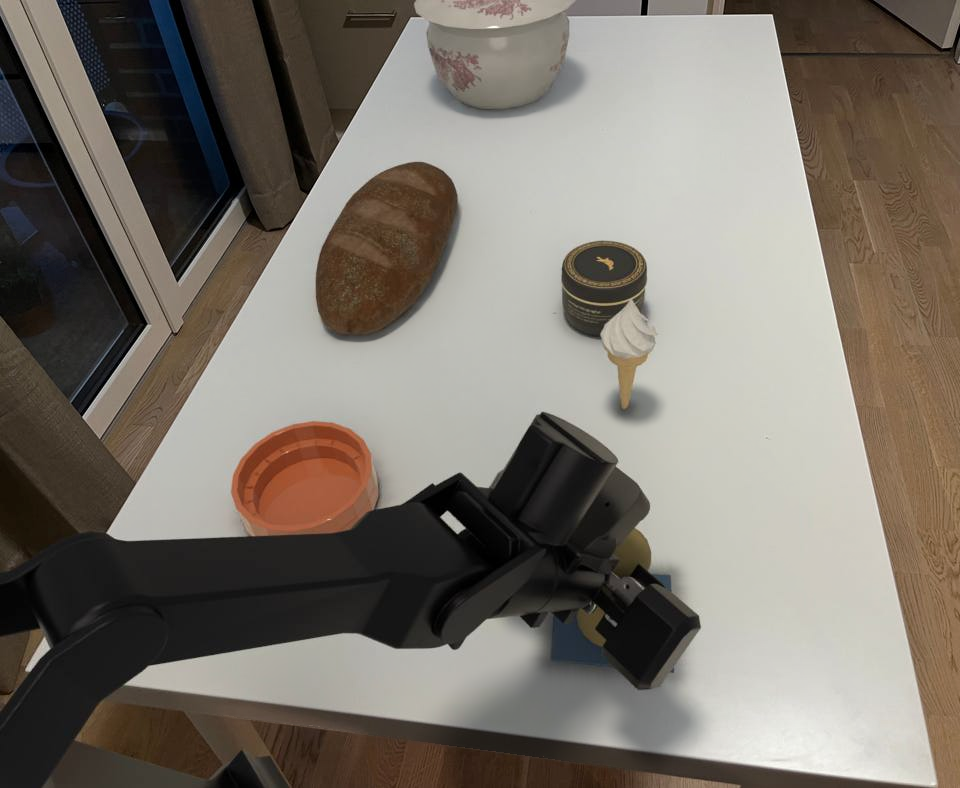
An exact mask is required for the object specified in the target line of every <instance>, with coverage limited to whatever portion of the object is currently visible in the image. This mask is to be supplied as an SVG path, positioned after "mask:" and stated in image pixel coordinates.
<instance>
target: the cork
mask: <svg viewBox="0 0 960 788" xmlns="http://www.w3.org/2000/svg"><path fill="white" fill-rule="evenodd" d="M613 554H614V555H616V556H617V557H618V558H619V559H620V561H619V562H618V564H617V565H616V567H615V568H614V570H613V571H612V572H613V573H614V574H615V575H617V576H618V577H619V578H620V579H621V578H623V577H630V575H631V574H632V572H633V571H634V569H635V568H636V566H637V565H638V564H640V565H641V566H642V567H643V568H645V569H646V570H647V571H648V572H649V570H650V567H651V564H652V549H651V546H650V543H649V541H648V539H647V537H645V535H644V534H643V532H641V531H640V530H638V529H637V528H636V527H635V528H634V529H633V530H632V532H631V533H630V534H629V535H628V536H627V537H626V538H625V540H624V541H623V542H622V543H621V544H620V545H619V546H618V547H617V548H616V550H615V551H614V553H613ZM604 581H605V580H604ZM608 585H609V584H607V586H608ZM610 589H611V590H612V589H613V587H612V588H610ZM593 604H594V602H593ZM604 614H605V612H604V611H603V610H602V609H601V608H599V607H598V606H597V608H596V610H595V611H594V613H592V614H587V613H586V612H585V611H584V610H583V609H582V608H580V609H579V611H578V612H577V616H576V618H577V622H578V626H579V628H580V630H581V631H582V633H583V634H584V636H585V637H586V638H588V639H589V640H590V641H591V642H592V643H594V644H596V645H599V646H601V647H602V646H603V645H604V643H605V642H606V640H605V639H604V638H603V637H602V636H601V635H600V634H599V633H598V632H597V631H596V630H595V628H596V626H597V625H598V623H599V622H600V620H601V619H602V617H603V616H604Z"/></svg>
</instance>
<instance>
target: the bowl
mask: <svg viewBox="0 0 960 788" xmlns="http://www.w3.org/2000/svg"><path fill="white" fill-rule="evenodd" d="M377 475H378V474H377V471H376V468H375V464H374V461H373V456H372V453H371V451H370V449H369V447H368V445H367V444H366V441H365V440H364V439H363V438H362V437H361V436H360V435H359V434H357V433H356V432H355V431H353V430H352V429H351V428H348V427H346V426H343V425H340V424H338V423H336V422H329V421H318V420H317V421H316V420H315V421H314V420H312V421H305V422H299V423H294V424H290V425H287V426H285V427H282V428H280V429H277V430H275V431H272V432H271V433H269V434H267V435H266V436H265V437H262V439H260V440H259V441H257V442H256V443H254V444H253V445H252V446H251V447H250V448H249V449H248V451H247V452H246V453H245V454H244V455H243V456H242V457H241V458H240V460H239V462H238V464H237V466H236V468H235V470H234V471H233V474H232V480H231V481H232V482H231V489H230V495H231V497H232V499H233V503H234V506H235V509H236V511H237V513H238V515H239V517H240V519H241V521H242V523H243V525H244V528H245V529H246V531H247V533H248V535H249V536H271V535H297V534H323V533H336V532H341V531H346V530H349V529H351V527H352V526H353V525H354V524H355V523H356V522H357V521H358V520H359V519H360V518H361V517H362V516H363V515H364V514H365V513H366V512H368V511H371V510H375V507H376V504H377V501H378V497H379V481H378V480H379V479H378V476H377Z"/></svg>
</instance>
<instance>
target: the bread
mask: <svg viewBox="0 0 960 788" xmlns="http://www.w3.org/2000/svg"><path fill="white" fill-rule="evenodd" d="M458 203H459V196H458V191H457V189H456V185H455V184H454V181H453V179H452V178H451V177H450V176H449V175H448V174H447V173H446V171H444V170H443V169H441V168H439V167H438V166H436V165H433V164H431V163H428V162H424V161H410V162H405V163H401V164H398V165H396V166H392V167H390V168H387V169H385V170H383V171H381V172H379V173H378V174H375V175H374V176H373V177H371V178H370V179H368V181H367V182H365V183H364V184H363V185H362V186H360V188H358V190H356V191H355V192H354V193H353V194H352V195H351V197H350V198H349V199H348V201H347V202H345V205H344V206H343V208H342V210H341V211H340V213H339V215H338V216H337V219H336V220H335V221H334V222H333V225H332V227H331V229H330V230H329V232H328V234H327V236H326V238H325V240H324V242H323V244H322V246H321V248H320V252H319V255H318V260H317V265H316V271H315V302H316V308H317V311H318V314H319V316H320V319H321V321H322V322H323V323H324V324H325V326H326V327H327V328H328V329H329V330H331V331H333V332H334V333H337V334H341V335H347V336H349V335H350V336H352V335H353V336H359V335H361V336H362V335H369V334H372V333H375V332H378V331H380V330H381V329H383V328H385V327H386V326H388V325H389V324H391V323H392V322H394V320H396V319H397V318H398V317H400V316H401V315H402V314H403V313H404V312H405V311H406V310H408V309H409V308H410V307H411V306H412V305H413V304H414V303H415V302H416V301H417V300H418V299H419V298H420V297H421V295H422V294H423V293H424V291H425V290H426V288H427V287H428V285H429V284H430V282H431V280H432V278H433V276H434V273H435V272H436V270H437V267H438V266H439V263H440V261H441V258H442V257H443V256H442V255H443V253H444V249H445V246H446V243H447V241H448V238H449V235H450V232H451V230H452V227H453V225H454V222H455V219H456V216H457V213H458V208H459V207H458V205H459V204H458Z"/></svg>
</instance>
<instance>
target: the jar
mask: <svg viewBox="0 0 960 788" xmlns="http://www.w3.org/2000/svg"><path fill="white" fill-rule="evenodd" d="M560 277H561V280H560V282H561V302H562V303H561V304H562V309H563V312H564V314H565V318H566V320H567V321H568V323H569V324H570V325H571V327H574V328H575V330H577V331H578V332H580V333H583V334H586V335H590V336H593V337H601V335H600V334H601V332H602V330H603V328H604V325H605V324H606V323H607V322H609V321H610V320H611V319H612V318H613V317H614V316H615V315H616V314H617V313H619V312H620V311H621V310H622V309H623V308H624V307H625V306H626V305H627V304H628V302H629V301H630V300H631V299H632V300H633V302H634V304H635V305H636V307H637V308H638V310H639V312H640V313H641V314H642V312H643V309H644V305H645V294H646V287H647V284H648V266H647V261H646V259H645V257H644V255H643V254H642V253H641V252H640V251H639V250H638V249H636V248H635V247H633V246H632V245H629V244H626V243H624V242H619V241H615V240H595V241H589V242H586V243H583V244H580V245H578V246H576V247H574V248H573V249H571V250H570V251H569V252H567V254H566V255H565V257H564V259H563V261H562V264H561V276H560Z"/></svg>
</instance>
